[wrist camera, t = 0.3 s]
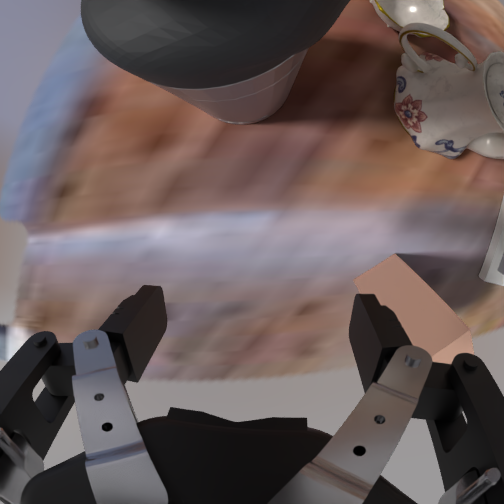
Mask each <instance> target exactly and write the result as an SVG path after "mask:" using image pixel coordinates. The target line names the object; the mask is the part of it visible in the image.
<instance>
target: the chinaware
mask: <svg viewBox="0 0 504 504" xmlns="http://www.w3.org/2000/svg"><path fill="white" fill-rule="evenodd" d="M370 3H372V4H373V6H374V8H375V11H376V12H377V14H378V15H379V17H380V18H381V19H382V20H383V21H384V22H385V23H386V24H387V26H388V27H391V28H393V29H395V30H397V31H399V32H400V33H399V42H400V45H401V47H402V48H403V50H404V51H405V53H403V54H402V55H401V59H402V60H401V62H402V66H400V67H399V68H398V69H397V73H396V87H395V91H394V110H395V112H396V114H397V117H398V119H399V121H400V123H401V125H402V126H403V128H404V129H405V130H406V132H407V133H408V134H409V135H410V136H411V138H412V140H413V142H414V143H415V145H416V146H417V147H418V148H420V149H422V150H427V151H431V152H435V153H437V154H440V155H442V156H444V157H447V158H449V159H455V158H457V157H458V156H459V155H460V154H461V153H462V152H463V151H464V150H465V149H470V150H472V151H474V152H476V153H478V154H480V155H482V156H485V157H489V158H495V159H504V53H503V52H501V51H499V52H495V53H491V54H490V55H489V56H488V58H487V59H486V60H485V61H484V62H483V63H481V64H477V61H476V59H475V57H474V56H473V55H472V53H471V52H470V51H469V50H468V49H467V48H466V47H465V46H464V45H463V44H462V43H461V42H460V41H458V40H457V39H456V38H455V37H454V36H452V35H451V34H449V33H448V32H446V31H445V30H446V29H448V28H449V27H450V22H449V16H448V15H447V13H446V11H445V10H443V9H444V0H370ZM408 34H411V35H416V36H418V37H420V38H426V37H432V36H433V37H435V38H437V39H439V40H441V41H443V42H445V43H446V44H448V45H449V46H451V47H452V48H453V49H455V50H456V51H457V52H459V53H458V54H456V55H455V63H456V64H455V63H451V62H449V61H447V60H445V59H443V58H441V57H439V56H438V55H435V54H433V53H429V52H425V53H422V54H421V55H420V56H418V55H417V54H416V52H415V51H414V50H413V49H412V47H411V46H410V44H409V42H408V40H407V35H408ZM468 61H469V62H470V63H471V64H468V63H467V62H468Z"/></svg>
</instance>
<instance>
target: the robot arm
mask: <svg viewBox="0 0 504 504" xmlns="http://www.w3.org/2000/svg"><path fill="white" fill-rule="evenodd" d="M349 1H350V0H82V1H81V17H82V23H83V26H84V29H85V32H86V34H87V36H88V38H89V40H90V41H91V42H92V44H93V45H94V47H95V48H96V49H97V50H98V51H99V52H100V53H101V54H102V55H103V56H104V57H105V58H107V59H108V60H109V61H110V62H112V63H113V64H115V65H117V66H118V67H120V68H122V69H124V70H126V71H128V72H130V73H132V74H134V75H136V76H138V77H140V78H142V79H144V80H146V81H148V82H150V83H152V84H154V85H156V86H158V87H160V88H162V89H164V90H166V91H168V92H170V93H172V94H174V95H176V96H177V97H179V98H181V99H183V100H185V101H187V102H188V103H190V104H192V105H194V106H196V107H197V108H199V109H201V110H203V111H204V112H206V113H208V114H209V115H211V116H213V117H214V118H216V119H219V120H220V121H223V122H226V123H231V124H244V125H246V124H251V123H256V122H259V121H262V120H264V119H266V118H268V117H269V116H271V115H273V114H274V113H275V112H276V111H277V110H278V109H279V108H280V107H281V106H282V105H283V103H284V102H285V100H286V99H287V97H288V95H289V92H290V90H291V88H292V86H293V83H294V81H295V79H296V76H297V74H298V72H299V69H300V67H301V64H302V62H303V60H304V57H305V55H306V53H307V50H308V48H309V47H311V46H312V45H314V44H315V43H316V42H317V41H319V40H320V39H321V38H322V37H323V36H324V35H325V34H326V33H327V32H328V30H329V29H330V28H331V27H332V25H333V24H334V23H335V21H336V20H337V18H338V17H339V15H340V14H341V12H342V11H343V9H344V8H345V6H346V5H347V4H348V2H349ZM166 328H167V314H166V308H165V302H164V295H163V290H162V288H161V286H152V285H143V286H142V287H141V288H140V289H139V291H138V292H137V293H136V294H135V295H132V296H130V297H128V298H127V299H125V300H123V301H122V302H121V304H120V305H119V306H118V307H117V309H115V310H114V312H113V314H111V315H110V316H109V317H108V319H107V320H106V321H105V322H104V323H103V325H102V326H101V327H100V328H99V329H98V330H88V331H85V332H83V333H81V334H79V335H78V336H77V337H76V338H75V339H74V341H73V343H58V341H57V339H56V336H55V334H54V333H52V332H48V331H44V332H39V333H36V334H34V335H33V336H31V337H30V338H29V339H28V340H27V341H26V342H25V343H24V344H23V346H22V347H21V348H20V349H19V350H18V351H17V352H16V353H15V355H14V356H13V357H12V358H11V359H10V360H9V361H8V363H7V364H6V365H5V366H4V367H3V368H2V370H1V371H0V500H1V501H2V502H3V503H4V504H417V503H416V502H415V501H413V500H412V499H411V498H409V497H408V496H407V495H405V494H404V493H403V492H401V491H400V490H399V489H398V488H396V487H395V486H394V485H392V484H391V483H390V482H389V481H387V480H386V479H385V478H384V477H382V476H381V475H380V474H381V473H382V471H383V469H384V467H385V466H386V464H387V462H388V461H389V459H390V457H391V455H392V454H393V452H394V450H395V448H396V446H397V445H398V442H399V441H400V439H401V437H402V435H403V433H404V431H405V429H406V427H407V425H408V423H409V421H410V419H411V418H417V419H426V422H427V425H428V428H429V431H430V435H431V438H432V442H433V445H434V449H435V453H436V456H437V460H438V464H439V468H440V472H441V476H442V480H443V484H444V489H445V493H444V494H443V495H442V497H441V498H440V500H439V503H438V504H504V396H503V395H502V393H501V391H500V389H499V387H498V386H497V384H496V382H495V380H494V379H493V377H492V375H491V374H490V372H489V370H488V369H487V367H486V366H485V364H484V362H483V361H482V360H481V359H480V358H479V357H477V356H475V355H473V354H470V353H460V354H457V355H456V356H455V357H454V359H453V361H452V363H451V364H446V363H438V362H433V361H432V357H431V356H430V354H429V353H428V352H427V351H426V350H424V349H422V348H420V347H417V346H413V344H412V343H411V341H410V339H409V337H408V335H407V334H406V332H405V330H404V328H403V327H402V325H401V323H400V321H398V318H397V316H396V314H395V313H394V311H392V310H391V309H390V308H388V307H387V306H386V305H381V304H380V303H379V301H378V299H377V297H376V295H375V294H356V296H355V299H354V305H353V310H352V315H351V321H350V326H349V339H350V343H351V346H352V350H353V353H354V357H355V360H356V363H357V367H358V370H359V374H360V377H361V381H362V385H363V388H364V392H365V395H364V396H363V397H362V399H361V400H360V402H359V403H358V405H357V406H356V407H355V409H354V410H353V411H352V413H351V414H350V415H349V417H348V418H347V419H346V421H345V422H344V423H343V425H342V426H341V427H340V428H339V430H338V431H337V432H336V434H335V435H334V436H332V435H330V434H328V433H325V432H323V431H320V430H317V429H313V428H309V427H307V418H277V417H272V418H265V419H259V420H252V421H244V422H233V421H229V420H226V419H223V418H220V417H217V416H214V415H210V414H207V413H204V412H200V411H193V410H186V409H180V408H173V407H170V410H169V412H168V415H167V416H162V417H155V418H150V419H147V420H143V421H141V422H138V419H137V417H136V414H135V412H134V409H133V407H132V404H131V402H130V399H129V396H128V393H127V390H126V388H125V383H126V381H127V380H128V381H132V382H138V381H139V380H140V378H141V376H142V374H143V372H144V370H145V368H146V366H147V364H148V363H149V361H150V359H151V357H152V355H153V353H154V351H155V350H156V348H157V346H158V344H159V342H160V340H161V339H162V337H163V335H164V333H165V331H166ZM41 378H42V380H43V382H44V384H45V388H44V389H43V391H42V392H41V394H40V395H39V397H38V398H37V400H36V401H35V402H34V401H33V397H32V392H33V389H34V387H35V386H36V385H37V383H38V382H39V380H40V379H41ZM74 402H75V404H76V410H77V416H78V421H79V426H80V431H81V436H82V440H83V444H84V449H85V451H84V452H82V453H80V454H78V455H76V456H74V457H72V458H70V459H68V460H66V461H64V462H62V463H60V464H58V465H56V466H53V467H51V468H49V469H47V470H45V471H44V463H43V460H44V458H45V456H46V454H47V452H48V450H49V448H50V446H51V444H52V442H53V440H54V439H55V437H56V435H57V433H58V431H59V429H60V427H61V426H62V424H63V422H64V420H65V418H66V417H67V415H68V413H69V411H70V409H71V408H72V406H73V404H74ZM462 411H464V413H465V415H466V418H467V423H466V421H465V419H464V416H463V414H462Z"/></svg>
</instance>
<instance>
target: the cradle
mask: <svg viewBox="0 0 504 504" xmlns="http://www.w3.org/2000/svg"><path fill="white" fill-rule="evenodd" d="M478 277H480V278H481V279H482V280H483V281H485V282H489V283H494V284H498V285H502V286H504V195H503V200H502V204H501V208H500V212H499V215H498V219H497V223H496V226H495V230H494V233H493V236H492V239H491V242H490V246H489V249H488V251H487V254H486V257H485V260H484V263H483V266H482V268H481V271H480V273H479V276H478Z"/></svg>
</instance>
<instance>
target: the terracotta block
mask: <svg viewBox="0 0 504 504" xmlns="http://www.w3.org/2000/svg"><path fill="white" fill-rule="evenodd" d="M353 281H354V283H355V284H356V286H357V288H358V290H359V292H360V293H361V294H375V295H376V297H377V299H378V301H379V303H380V304H381V305H386V306H387V307H388V308H390V309H391V310H392V311H394V313H395V314H396V316H397V318H398V321H400V323H401V325H402V327H403V328H404V330H405V332H406V334H407V335H408V337H409V339H410V341H411V343H412V344H413V346H417V347H420V348H422V349H424V350H426V351H427V352H428V353H429V354H430V356H431V357H432V361H433V362H438V363H446V364H451V363H452V361H453V359H454V357H455V356H456V355H457V354H460V353H470V354H473V355H474V350H473V343H472V337H471V332H470V329H469V328H468V326H467V325H466V324H465V323H464V322H463V321H462V320H461V319H460V318H459V317H458V316H457V314H456V313H455V312H454V311H453V310H452V309H451V308H450V307H449V306H448V305H447V304H446V303H445V302H444V301H443V300H442V299H441V298H440V297H439V296H438V295H437V294H436V293H435V292H434V291H433V290H432V289H431V288H430V287H429V286H428V285H427V284H426V283H425V282H424V281H423V280H422V279H421V278H420V277H419V276H418V275H417V274H416V273H415V272H414V271H413V270H412V269H411V268H410V267H409V266H408V265H407V264H406V263H405V262H404V261H403V260H401V259H400V258H399V257H398V256H397V255H396V254H393V255H392V256H390V257H389V258H387V259H386V260H384V261H382V262H381V263H379V264H378V265H376V266H375V267H373V268H371V269H370V270H368V271H367V272H365V273H363V274H362V275H360V276H359V277H357V278H355V279H354V280H353Z"/></svg>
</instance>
